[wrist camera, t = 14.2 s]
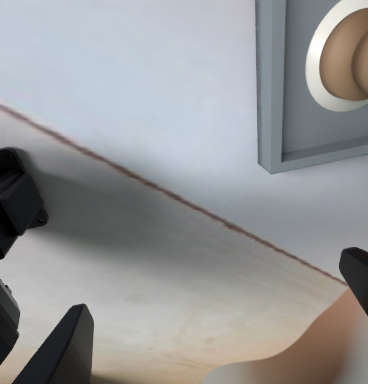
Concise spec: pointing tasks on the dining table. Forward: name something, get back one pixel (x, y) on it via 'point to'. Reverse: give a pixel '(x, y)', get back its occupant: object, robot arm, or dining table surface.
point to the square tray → (302, 87)
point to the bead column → (347, 58)
